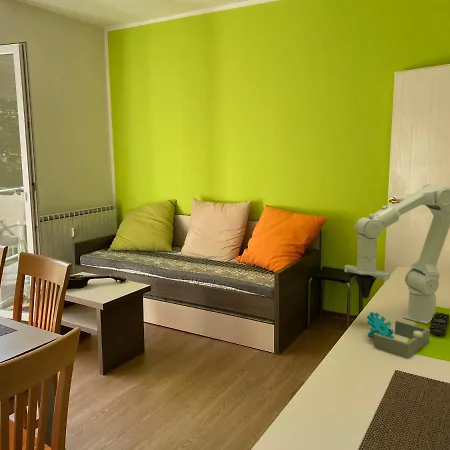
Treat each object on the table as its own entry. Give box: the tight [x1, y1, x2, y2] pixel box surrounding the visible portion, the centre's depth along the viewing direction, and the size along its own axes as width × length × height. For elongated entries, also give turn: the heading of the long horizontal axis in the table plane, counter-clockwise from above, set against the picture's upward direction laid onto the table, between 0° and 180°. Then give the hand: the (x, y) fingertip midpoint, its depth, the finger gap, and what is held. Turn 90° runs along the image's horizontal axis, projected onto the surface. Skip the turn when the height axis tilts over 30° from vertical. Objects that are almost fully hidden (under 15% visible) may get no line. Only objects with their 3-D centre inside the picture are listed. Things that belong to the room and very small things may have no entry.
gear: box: [366, 311, 395, 339], centre depth 137 cm, size 11×6×10 cm
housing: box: [373, 319, 431, 359], centre depth 131 cm, size 14×11×5 cm
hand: (365, 297), depth 145 cm, fingers closed
